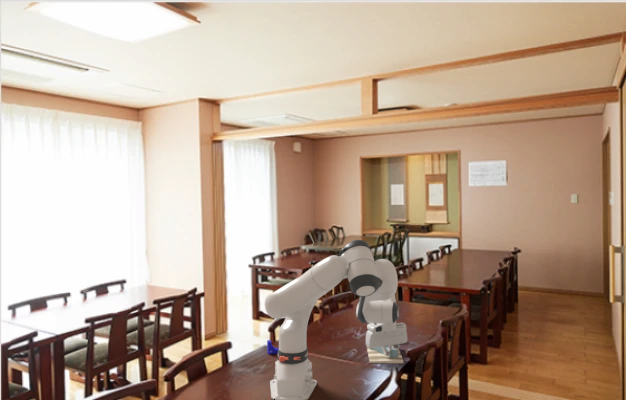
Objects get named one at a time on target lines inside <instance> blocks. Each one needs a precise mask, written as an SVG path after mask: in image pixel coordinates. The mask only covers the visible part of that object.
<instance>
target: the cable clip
mask: <svg viewBox="0 0 626 400" xmlns="http://www.w3.org/2000/svg"><path fill="white" fill-rule="evenodd" d="M272 343H273V342H272V340H270V339H269V340H268V339H267V342H266V348H267V349H266V350H267V354H268V355H275V354H278V349H279V347H275V346H273V344H272Z"/></svg>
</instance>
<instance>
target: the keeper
mask: <svg viewBox="0 0 626 400" xmlns="http://www.w3.org/2000/svg"><path fill="white" fill-rule="evenodd" d="M392 346H393V348H399V350H401V344H396V345H392Z"/></svg>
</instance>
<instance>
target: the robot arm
mask: <svg viewBox="0 0 626 400" xmlns="http://www.w3.org/2000/svg"><path fill="white" fill-rule="evenodd" d="M345 279H347V280H348V282H349V284H348V285H349V288H350V290H351V292H352V294H354V295H355V296H358V297H359V299H358V302H357V305H356V309H355V310H356V311H355V314H356V319H357V320H358V321H359V322H360V323H361V324H367V325H366V328H367V331H366V332H365V333H366V334H365V346H366V348H367V347H369V348H377V347H381V348H382V349H383V351H384V355H385V356H386V355H390V351H391V349H392V345H396V344H400V345H403V344H406V343H407V342H408V333H407V325H406V323H404V322H398V323H397V321H398V320H399V319H400V313H399V310H400V309H399V308H400V305H399V304H398V303H397V301H396V293H397V289H398V285H399V283H398V282H399V280H398V273H397V270H396V267H395V265H394V263H393V262H391V260H388V259H386V258H379V259H376V260H375V258H374V256H373V253H372V249H371V247H370V245H369V243H368V242H367V241H366V240H363V239H362V240H361V239H354V240H351V241H349V242H348V243H347V244H346V245H344V246H343V248H341V249H340V251H339V253H338V255H334V254H333V255H330V256H328V257H327V256H326V257H325V258H323V259H322V260H320V261H318V262H317V263H316V264H314V265H313V266H312V267H311V268H309V269H308V270H306V271H305V272H304V273H303V274H301V275H300V276H298V277H297V278H294V279H293V280H291V281H289V282H288V283H286V284H285V285H283V286H281V287H280V288H278V289H277V290H275V291H272V292H271V293H269V294H268V295H267V296H266V297H265V300H264V310H265V312H266V313H267V315H268V316H269V317H270V318H272V319H284V321H283V323H282V324H281V326H280V327H279V329H278V348H279V349H278V353H277V360H276V361H275V362H274V365H275V366H274V369H275V370H274V371H275V372H274V373H275V374H273V379H271V380H270V381H269V387H270V398H271V399H272V400H274V399H275V400H308V399H309V398H310V397H311V395H312V393H313V391H314V390H315V387H316V386H317V384H318V381H317V380H316V379H313V363H312V362H311V360H309V357H308V356H309V354H308V353H309V351H308V347H307V331H308V330H307V329H308V323H309V320H310V317H311V313H312V311H313V308H314V307H315V306H316V305H317V303H318V300H319V299H320V298H323V296H324V295H326V294H327V293H329V292H330V291H332V290H333V289H334V288H335V287H336V286H337V285H339V284H340V283H341V282H342V281H343V280H345ZM386 346H388V349H387V350H386V349H385V348H386Z"/></svg>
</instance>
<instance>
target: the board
mask: <svg viewBox="0 0 626 400" xmlns="http://www.w3.org/2000/svg"><path fill="white" fill-rule="evenodd" d="M392 348H393V346H392ZM394 349H397V350H398V357H395V358H392V357H390V356H388V355H386V356H385V355H384V354H383V353H380V352H378V351H376V350H373V349H369V347H367V346H366V351H367V356H368V361H369V364H404V359H403V356H402V354H401V352H400V349H399V348H394Z"/></svg>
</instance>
